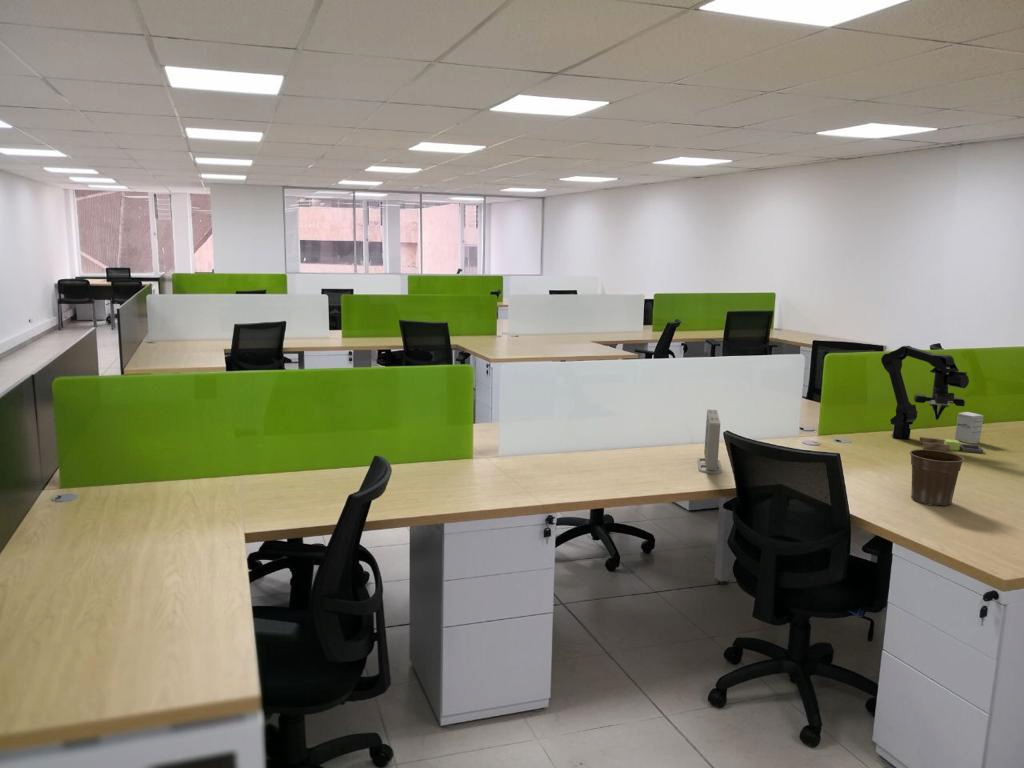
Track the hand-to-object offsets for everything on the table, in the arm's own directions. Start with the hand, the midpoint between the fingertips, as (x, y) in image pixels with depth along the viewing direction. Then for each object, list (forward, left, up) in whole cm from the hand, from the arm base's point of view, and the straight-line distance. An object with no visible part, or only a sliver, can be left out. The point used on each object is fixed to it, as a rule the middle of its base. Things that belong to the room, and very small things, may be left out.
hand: (936, 419), depth 338 cm
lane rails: (0, -1, -12) cm, 12 cm away
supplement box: (+16, +17, -12) cm, 26 cm away
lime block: (+7, -1, -12) cm, 14 cm away
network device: (-88, -73, -12) cm, 115 cm away
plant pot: (-13, -85, -12) cm, 87 cm away
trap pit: (+14, -1, -12) cm, 19 cm away
